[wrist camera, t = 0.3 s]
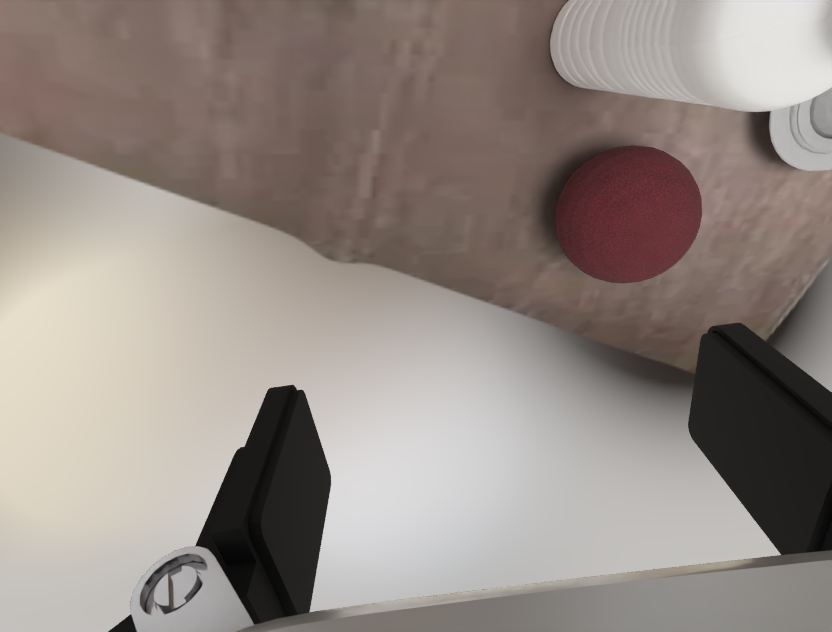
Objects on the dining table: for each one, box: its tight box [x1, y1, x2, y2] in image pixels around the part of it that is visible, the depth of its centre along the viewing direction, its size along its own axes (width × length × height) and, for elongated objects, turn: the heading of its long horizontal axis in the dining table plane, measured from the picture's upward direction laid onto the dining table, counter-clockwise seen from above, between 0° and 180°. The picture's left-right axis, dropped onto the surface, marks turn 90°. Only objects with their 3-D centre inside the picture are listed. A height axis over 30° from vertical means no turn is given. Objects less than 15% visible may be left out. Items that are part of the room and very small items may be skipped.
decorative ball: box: [555, 146, 702, 283], centre depth 36 cm, size 10×10×10 cm
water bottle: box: [550, 0, 832, 112], centre depth 23 cm, size 9×6×25 cm
